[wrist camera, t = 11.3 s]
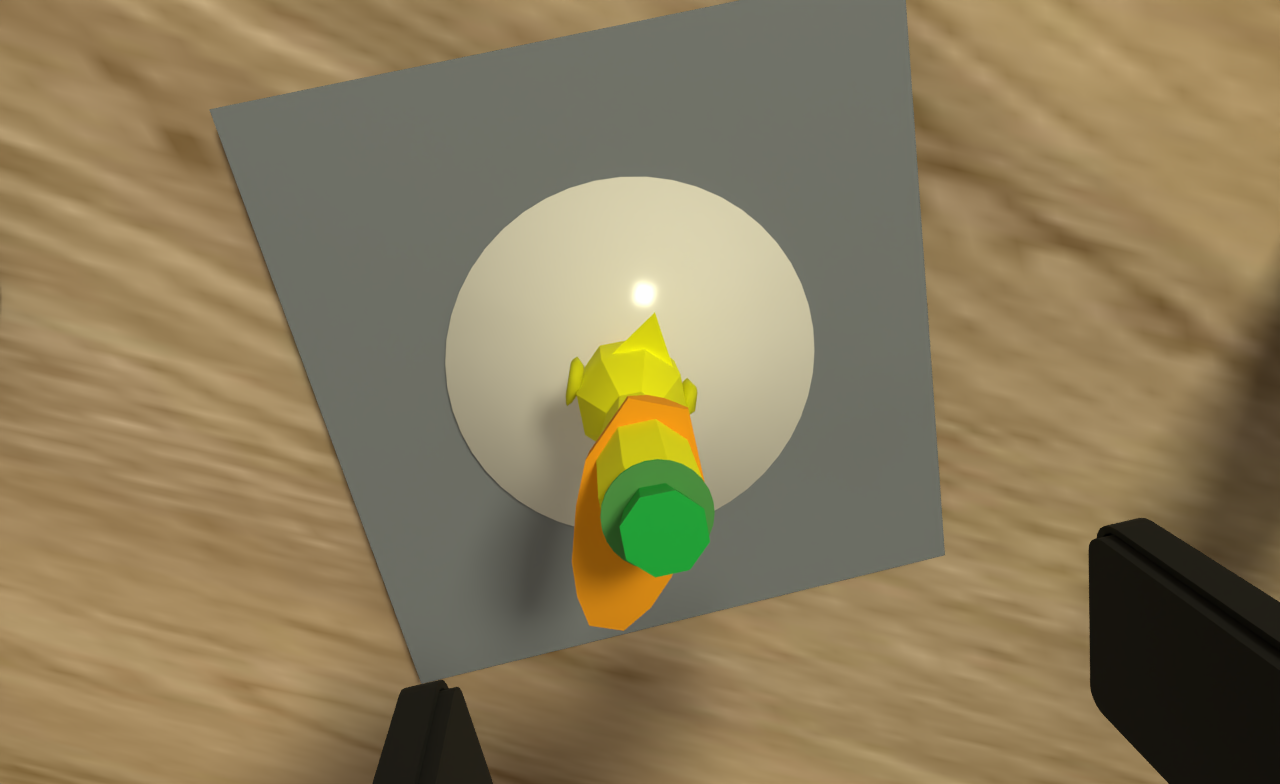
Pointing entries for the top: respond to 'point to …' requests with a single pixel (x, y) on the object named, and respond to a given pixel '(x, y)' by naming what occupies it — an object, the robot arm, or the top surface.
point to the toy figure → (635, 478)
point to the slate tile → (610, 303)
